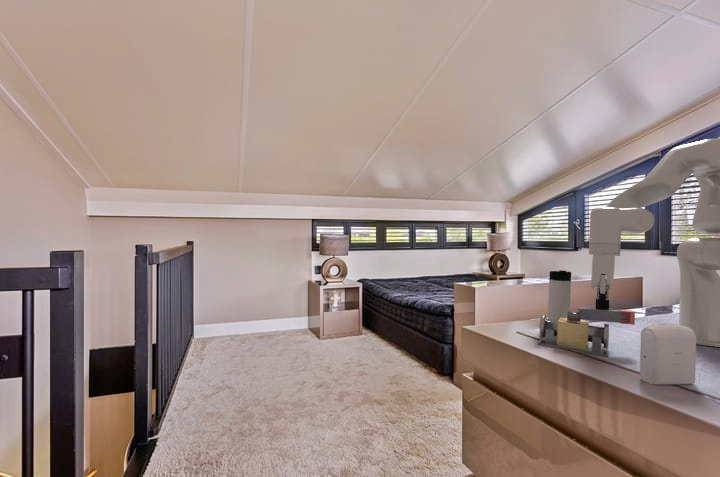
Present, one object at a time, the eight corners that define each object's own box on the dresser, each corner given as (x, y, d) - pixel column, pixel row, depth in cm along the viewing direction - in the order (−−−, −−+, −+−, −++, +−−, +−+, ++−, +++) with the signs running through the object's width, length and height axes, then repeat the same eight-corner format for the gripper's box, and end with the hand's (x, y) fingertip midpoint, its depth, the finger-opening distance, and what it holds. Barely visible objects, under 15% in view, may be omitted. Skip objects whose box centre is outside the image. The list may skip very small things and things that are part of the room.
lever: (568, 320, 96) (569, 307, 96) (565, 318, 99) (565, 305, 99) (635, 326, 91) (636, 312, 91) (629, 323, 94) (630, 310, 94)
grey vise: (607, 347, 96) (608, 321, 96) (608, 357, 88) (609, 328, 88) (543, 336, 106) (544, 312, 106) (538, 344, 97) (539, 318, 97)
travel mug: (550, 332, 111) (552, 270, 111) (545, 327, 117) (547, 268, 117) (572, 334, 109) (574, 271, 109) (566, 329, 115) (568, 269, 115)
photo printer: (654, 386, 71) (656, 325, 71) (635, 377, 75) (637, 320, 75) (699, 385, 72) (701, 326, 72) (678, 377, 76) (680, 321, 76)
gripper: (589, 249, 109) (587, 307, 109) (587, 249, 97) (585, 315, 97) (619, 250, 105) (617, 311, 105) (621, 251, 93) (618, 319, 93)
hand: (602, 312), depth 101 cm, fingers closed
